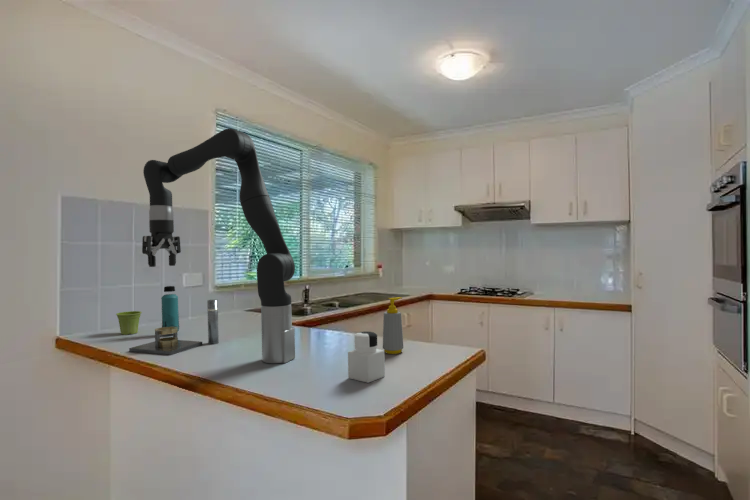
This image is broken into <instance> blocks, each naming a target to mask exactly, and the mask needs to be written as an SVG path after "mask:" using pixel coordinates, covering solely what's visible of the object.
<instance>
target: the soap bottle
mask: <svg viewBox="0 0 750 500" xmlns="http://www.w3.org/2000/svg"><path fill="white" fill-rule="evenodd" d="M387 299H388V300H389V303H390V305H388V309H387V310H386V311H384V312H383V324H382V327H383V329H382V350H384V354H389V355H398V354H401V353H402V351H403V349H404V336H403V335H404V333H403V321H402V312H400V311H399V310H398V308H397V307H396V305H395V302H396V301H397V300H401V299H403V297H402V296H398V297H387Z"/></svg>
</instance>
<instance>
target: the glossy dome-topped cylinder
mask: <svg viewBox="0 0 750 500" xmlns="http://www.w3.org/2000/svg"><path fill="white" fill-rule="evenodd" d="M218 301H219V300H218V299H207V302H206V304H207V308H206V310H207V344H208V345H217V344H219V342H220V340H219V336H220V335H219V302H218Z"/></svg>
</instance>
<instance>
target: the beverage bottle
mask: <svg viewBox="0 0 750 500" xmlns="http://www.w3.org/2000/svg"><path fill="white" fill-rule="evenodd" d="M175 288H176V287H175V286H174V285H167V286H164V287H163V292H164V293H167V292H168V294H163V295H162V296H161V298H160V299H161V327H174V326H177V327H178V332H179V330H180V318H179V317H180V313H179V296H178V295H177V294H175V293H171V292H176V289H175Z"/></svg>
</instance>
